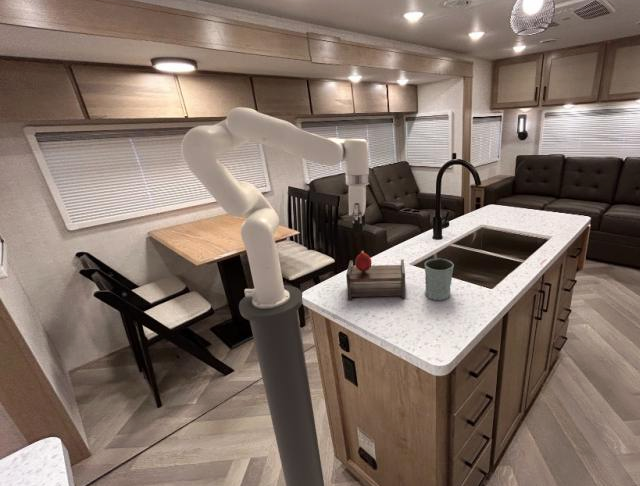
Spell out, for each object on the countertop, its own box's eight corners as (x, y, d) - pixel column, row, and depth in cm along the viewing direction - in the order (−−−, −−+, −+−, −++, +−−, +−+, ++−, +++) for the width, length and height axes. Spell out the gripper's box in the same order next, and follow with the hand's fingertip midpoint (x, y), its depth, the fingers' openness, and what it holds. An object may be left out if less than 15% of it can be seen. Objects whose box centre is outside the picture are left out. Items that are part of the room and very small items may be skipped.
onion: (375, 271, 114) (374, 251, 111) (362, 277, 111) (361, 256, 108) (365, 267, 118) (364, 246, 115) (352, 271, 115) (351, 251, 112)
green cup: (424, 301, 111) (425, 270, 107) (422, 287, 121) (423, 257, 116) (453, 301, 111) (455, 270, 106) (449, 287, 120) (451, 257, 116)
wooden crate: (348, 300, 112) (346, 274, 108) (351, 284, 123) (349, 260, 119) (405, 298, 113) (405, 273, 109) (403, 283, 124) (403, 259, 120)
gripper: (349, 174, 111) (351, 222, 118) (341, 184, 95) (344, 238, 102) (370, 175, 111) (371, 222, 118) (367, 184, 95) (368, 238, 102)
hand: (359, 229), depth 110 cm, fingers open, 9 cm apart
